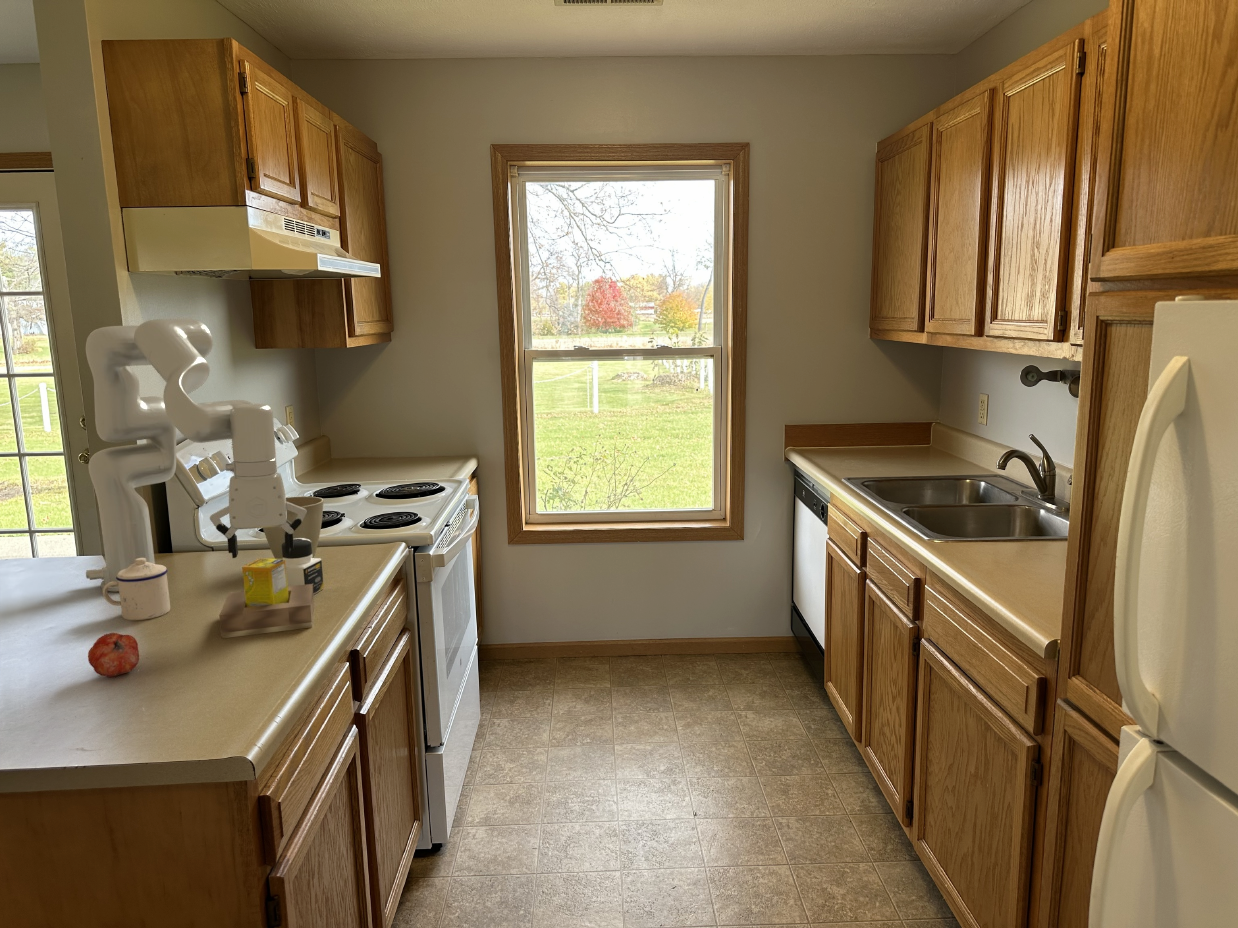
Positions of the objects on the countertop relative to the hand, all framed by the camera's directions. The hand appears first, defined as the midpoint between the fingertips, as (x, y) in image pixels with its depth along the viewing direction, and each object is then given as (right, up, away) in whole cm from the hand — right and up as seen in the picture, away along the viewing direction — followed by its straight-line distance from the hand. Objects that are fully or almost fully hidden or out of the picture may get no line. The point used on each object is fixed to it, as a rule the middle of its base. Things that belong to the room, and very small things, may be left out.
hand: (262, 554), depth 163 cm
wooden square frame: (+1, -13, +2) cm, 14 cm away
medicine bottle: (+1, -11, +18) cm, 21 cm away
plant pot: (-8, -7, +39) cm, 41 cm away
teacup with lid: (-28, -13, +7) cm, 32 cm away
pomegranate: (-15, -18, -22) cm, 32 cm away
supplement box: (+1, -13, +2) cm, 13 cm away
